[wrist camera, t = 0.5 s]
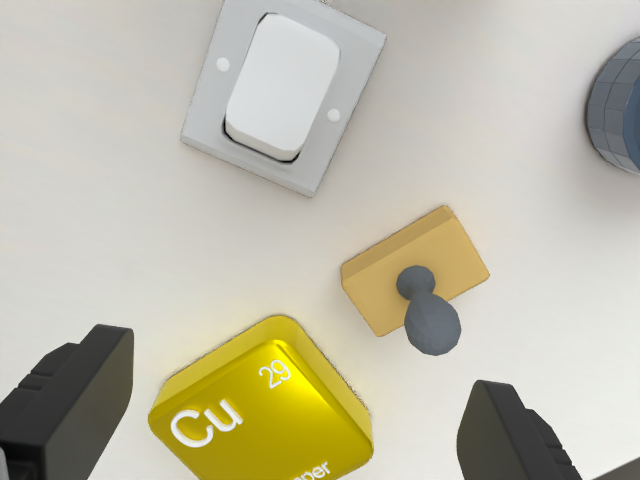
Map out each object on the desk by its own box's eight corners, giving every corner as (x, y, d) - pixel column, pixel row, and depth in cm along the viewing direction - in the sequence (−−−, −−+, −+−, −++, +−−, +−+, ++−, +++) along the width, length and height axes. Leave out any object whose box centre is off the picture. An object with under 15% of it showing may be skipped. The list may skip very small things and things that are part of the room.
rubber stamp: (374, 317, 42) (391, 412, 31) (338, 265, 40) (342, 346, 29) (478, 259, 40) (538, 339, 29) (445, 202, 38) (494, 263, 27)
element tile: (252, 489, 49) (244, 532, 44) (153, 386, 45) (133, 422, 40) (378, 422, 46) (384, 461, 41) (284, 304, 42) (279, 334, 37)
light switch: (166, 150, 34) (228, -45, 29) (184, 137, 38) (241, -37, 33) (310, 212, 35) (392, 36, 30) (313, 194, 39) (386, 35, 34)
